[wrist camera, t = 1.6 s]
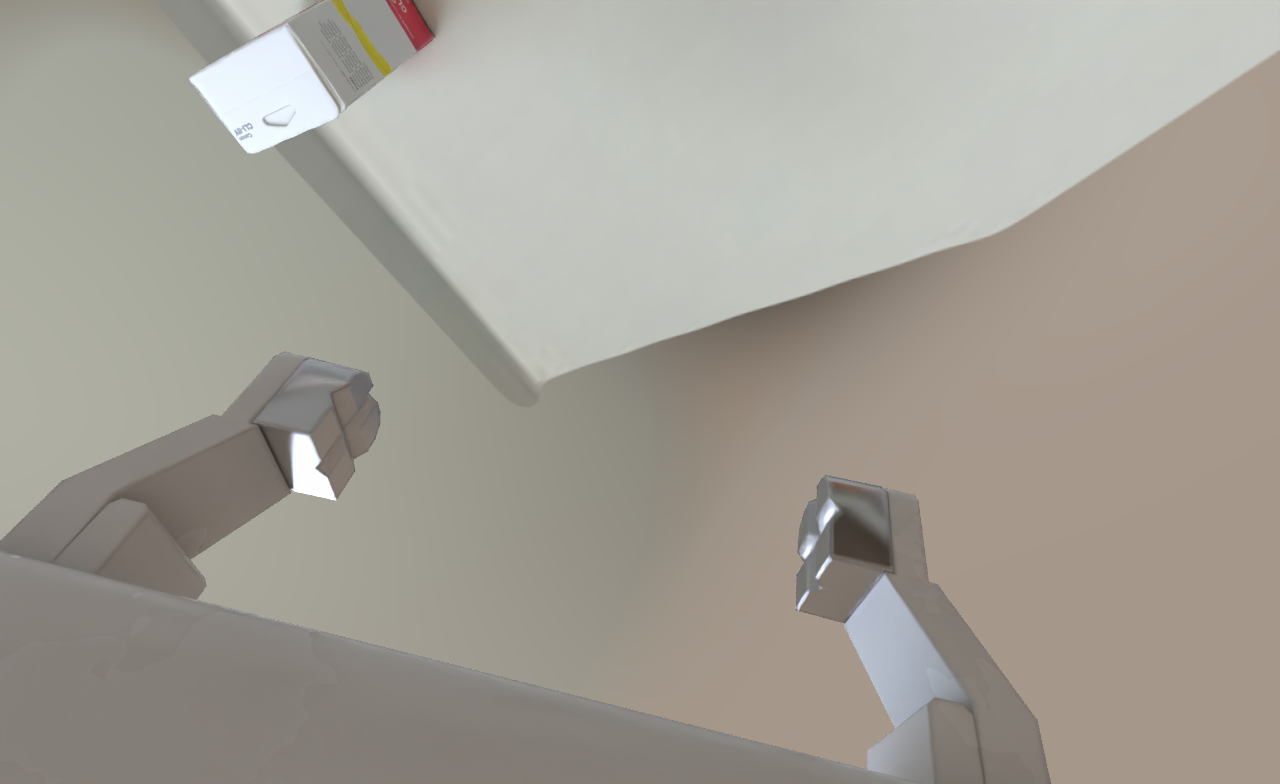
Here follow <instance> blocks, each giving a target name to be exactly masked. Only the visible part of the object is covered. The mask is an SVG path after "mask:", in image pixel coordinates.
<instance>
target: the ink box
mask: <svg viewBox="0 0 1280 784" xmlns="http://www.w3.org/2000/svg"><path fill="white" fill-rule="evenodd" d="M433 38H434V36H433V35H432V33H431V32H430V30H429V29H428V27H427V26H426V24H425V22H424V21H423V19H422V17H421V16H420V14H419V12H418V10H417V9H416V7H415V6H414V4H413V2H412V1H411V0H322V1H320V2H318V3H316V4H314V5H313V6H311V7H309V8H307V9H305V10H303V11H302V12H300V13H298V14H296V15H294V16H292V17H290V18H289V19H287V20H285V21H283V22H282V23H280V24H278V25H276V26H275V27H273V28H271V29H269V30H267V31H266V32H264V33H262V34H260V35H258V36H257V37H255V38H253V39H252V40H250V41H248V42H247V43H245V44H243V45H242V46H240V47H238V48H237V49H235V50H233V51H232V52H230V53H228V54H227V55H225V56H223V57H221V58H220V59H218V60H217V61H215V62H213V63H212V64H210V65H208V66H207V67H205V68H203V69H202V70H200V71H198V72H197V73H195V74H194V75H192V76H191V77H190V78H189V80H190V81H191V83H192V84H193V86H194V87H195V88H196V90H197V91H198V92H199V94H200V95H201V96H202V97H203V99H204V100H205V101H206V102H207V104H208V105H209V106H210V107H211V109H212V110H213V111H214V113H215V114H216V115H217V116H218V118H219V119H220V120H221V121H222V122H223V124H224V125H225V126H226V127H227V128H228V130H229V131H230V132H231V133H232V135H233V136H234V137H235V138H236V140H237V141H238V142H239V143H240V145H241V146H242V147H243V148H244V149H245V150H246V151H247V153H258V152H260V151H261V150H263V149H267V148H269V147H272V146H274V145H276V144H278V143H279V142H281V141H284V140H286V139H290V138H292V137H295V136H297V135H299V134H301V133H303V132H305V131H307V130H309V129H313V128H315V127H318V126H320V125H322V124H324V123H326V122H328V121H331V120H334V119H336V118H338V116H339V114H340V113H341V112H343V111H345V110H346V109H347V107H348V106H350V105H351V104H352V103H353V102H354V101H356V100H357V99H358V98H360V97H361V96H362V95H364V94H365V93H366V92H367V91H369V90H370V89H371V88H373V87H374V86H375V85H376V84H378V83H379V82H380V81H381V80H383V79H384V78H385V77H386V76H387V75H389V74H390V73H391V72H393V71H394V70H395V69H396V68H398V67H399V66H400V65H402V64H403V63H404V62H405V61H407V60H408V59H409V58H411V57H412V56H413V55H414V54H416V53H417V52H418V51H419V50H421V49H422V48H423V47H424V46H426V45H427V44H428V43H430V42H431V41H432V40H433Z"/></svg>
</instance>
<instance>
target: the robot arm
mask: <svg viewBox="0 0 1280 784" xmlns="http://www.w3.org/2000/svg"><path fill="white" fill-rule="evenodd" d="M372 387H373V384H372V380H371V377H370V374H369V373H368V372H365V371H361V370H357V369H353V368H349V367H345V366H341V365H337V364H334V363H329V362H326V361H322V360H318V359H314V358H310V357H305V356H301V355H297V354H293V353H289V352H282V353H280V354H278V355H276V356H274V357H273V358H272V360H271V361H270V362H269V363H268V364H267V365H266V366H265V367H264V369H263V370H262V371H261V372H260V373H259V374H258V375H257V376H256V378H255V379H254V380H253V381H252V382H251V383H250V384H249V385H248V386H247V388H246V389H245V390H244V391H243V392H242V393H241V394H240V395H239V396H238V398H237V399H236V400H235V401H234V402H233V403H232V404H231V406H230V407H229V408H228V409H227V410H226V411H225V412H224V413H223V415H222V416H217V415H211V416H209V417H206V418H204V419H202V420H199V421H197V422H195V423H192V424H190V425H188V426H186V427H183V428H181V429H179V430H177V431H174V432H172V433H170V434H168V435H165V436H163V437H161V438H158V439H156V440H154V441H152V442H149V443H147V444H145V445H142V446H140V447H138V448H135V449H133V450H131V451H129V452H126V453H124V454H122V455H120V456H117V457H115V458H113V459H111V460H108V461H106V462H104V463H101V464H99V465H97V466H94V467H92V468H90V469H88V470H85V471H83V472H81V473H79V474H76V475H74V476H72V477H69V478H67V479H65V480H63V481H61V482H60V483H59V484H58V485H57V486H56V487H55V488H54V489H53V490H52V491H51V492H50V493H49V494H48V495H47V496H46V497H45V498H44V499H43V500H42V501H41V502H40V503H39V504H38V505H37V506H36V507H35V508H34V509H33V510H31V511H30V512H29V514H27V515H26V516H25V517H24V518H23V519H22V520H21V521H20V522H19V523H18V524H17V525H16V526H15V527H14V528H13V529H12V530H11V531H10V532H9V533H8V534H7V535H6V536H5V537H4V538H3V539H2V540H1V541H0V784H1051V782H1050V777H1049V773H1048V768H1047V763H1046V758H1045V754H1044V749H1043V744H1042V740H1041V735H1040V731H1039V725H1038V721H1037V719H1036V718H1035V716H1034V715H1033V714H1032V712H1031V711H1030V710H1029V708H1028V707H1027V705H1026V704H1025V703H1024V701H1023V700H1022V699H1021V697H1020V696H1019V694H1018V693H1017V692H1016V690H1015V689H1014V688H1013V686H1012V685H1011V684H1010V682H1009V681H1008V679H1007V678H1006V677H1005V676H1004V674H1003V673H1002V671H1001V670H1000V669H999V667H998V666H997V665H996V663H995V662H994V661H993V659H992V658H991V656H990V655H989V654H988V652H987V651H986V650H985V648H984V647H983V646H982V644H981V643H980V641H979V640H978V639H977V637H976V636H975V635H974V633H973V632H972V630H971V629H970V628H969V626H968V625H967V624H966V622H965V621H964V620H963V618H962V617H961V615H960V614H959V613H958V611H957V610H956V609H955V607H954V606H953V605H952V603H951V602H950V601H949V599H948V598H947V597H946V595H945V594H944V592H943V591H942V590H941V588H940V587H939V586H938V585H937V584H934V583H930V582H929V580H928V572H927V565H926V557H925V549H924V541H923V533H922V525H921V518H920V510H919V502H918V500H917V498H916V496H915V495H913V494H909V493H904V492H900V491H895V490H891V489H887V488H882V487H880V486H876V485H871V484H866V483H861V482H857V481H852V480H848V479H843V478H838V477H833V476H829V475H825V476H824V477H823V478H822V479H821V481H820V482H819V484H818V486H817V499H815V500H812V501H810V502H809V503H808V505H807V507H806V509H805V511H804V514H803V517H802V521H801V525H800V529H799V537H798V554H799V555H800V557H801V558H802V560H803V561H804V563H803V565H802V567H801V569H800V570H799V572H798V574H797V586H796V610H797V611H801V612H804V613H808V614H812V615H816V616H820V617H823V618H828V619H831V620H835V621H838V622H843V623H845V624H844V627H845V629H846V631H847V633H848V635H849V637H850V639H851V641H852V643H853V645H854V647H855V649H856V651H857V653H858V655H859V657H860V659H861V661H862V663H863V665H864V667H865V669H866V671H867V673H868V675H869V677H870V679H871V681H872V683H873V685H874V687H875V689H876V691H877V693H878V695H879V697H880V699H881V701H882V703H883V705H884V707H885V709H886V711H887V713H888V715H889V717H890V719H891V721H892V723H893V725H894V727H895V729H894V730H893V731H891V732H890V733H889V734H888V735H886V736H885V737H884V738H883V739H881V740H880V741H879V742H878V743H876V744H875V745H874V746H873V747H871V748H870V749H869V750H868V751H867V769H864V768H860V767H856V766H852V765H848V764H844V763H840V762H836V761H832V760H828V759H824V758H820V757H816V756H812V755H808V754H804V753H800V752H796V751H793V750H788V749H784V748H781V747H777V746H773V745H769V744H765V743H761V742H757V741H752V740H749V739H745V738H741V737H737V736H733V735H729V734H725V733H721V732H717V731H713V730H710V729H706V728H701V727H697V726H694V725H690V724H685V723H682V722H678V721H674V720H670V719H666V718H662V717H658V716H654V715H650V714H646V713H642V712H638V711H634V710H631V709H627V708H623V707H619V706H614V705H611V704H606V703H603V702H599V701H595V700H591V699H587V698H583V697H579V696H575V695H571V694H567V693H563V692H559V691H555V690H551V689H548V688H544V687H540V686H536V685H532V684H528V683H524V682H519V681H516V680H511V679H508V678H504V677H500V676H496V675H492V674H488V673H484V672H480V671H476V670H472V669H468V668H464V667H461V666H457V665H452V664H449V663H444V662H440V661H437V660H432V659H429V658H425V657H421V656H417V655H413V654H409V653H405V652H401V651H397V650H393V649H389V648H385V647H382V646H378V645H373V644H370V643H365V642H362V641H358V640H354V639H350V638H346V637H342V636H338V635H334V634H330V633H326V632H322V631H318V630H314V629H310V628H306V627H302V626H298V625H294V624H291V623H286V622H283V621H279V620H275V619H270V618H267V617H263V616H259V615H255V614H251V613H247V612H243V611H239V610H235V609H231V608H227V607H223V606H219V605H215V604H211V603H207V602H203V601H199V600H197V599H198V597H199V596H200V594H201V593H202V592H203V590H204V589H205V587H206V581H205V578H204V576H203V575H202V574H201V572H200V571H199V570H198V569H197V568H196V566H195V565H194V564H193V562H192V561H191V559H192V558H194V557H195V556H197V555H198V554H200V553H201V552H203V551H204V550H206V549H207V548H209V547H210V546H212V545H213V544H215V543H216V542H218V541H219V540H221V539H222V538H224V537H225V536H227V535H228V534H230V533H231V532H233V531H234V530H236V529H238V528H239V527H241V526H242V525H244V524H245V523H247V522H248V521H250V520H251V519H253V518H254V517H256V516H257V515H259V514H260V513H262V512H263V511H265V510H266V509H268V508H269V507H271V506H272V505H274V504H275V503H277V502H278V501H280V500H281V499H283V498H284V497H286V496H287V495H289V494H291V491H296V492H301V493H306V494H311V495H315V496H320V497H325V498H329V499H334V500H337V498H338V497H339V495H340V494H341V492H342V491H343V489H344V488H345V486H346V485H347V483H348V481H349V480H350V478H351V477H352V475H353V474H354V472H355V466H354V460H353V459H355V458H356V457H358V456H360V455H362V454H364V453H366V452H368V450H369V448H370V447H371V445H372V443H373V442H374V440H375V438H376V435H377V431H378V429H379V426H380V409H379V405H378V402H377V401H376V400H375V399H374V398H373V397H371V395H370V394H369V391H370V390H371V388H372ZM290 490H291V491H290Z"/></svg>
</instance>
